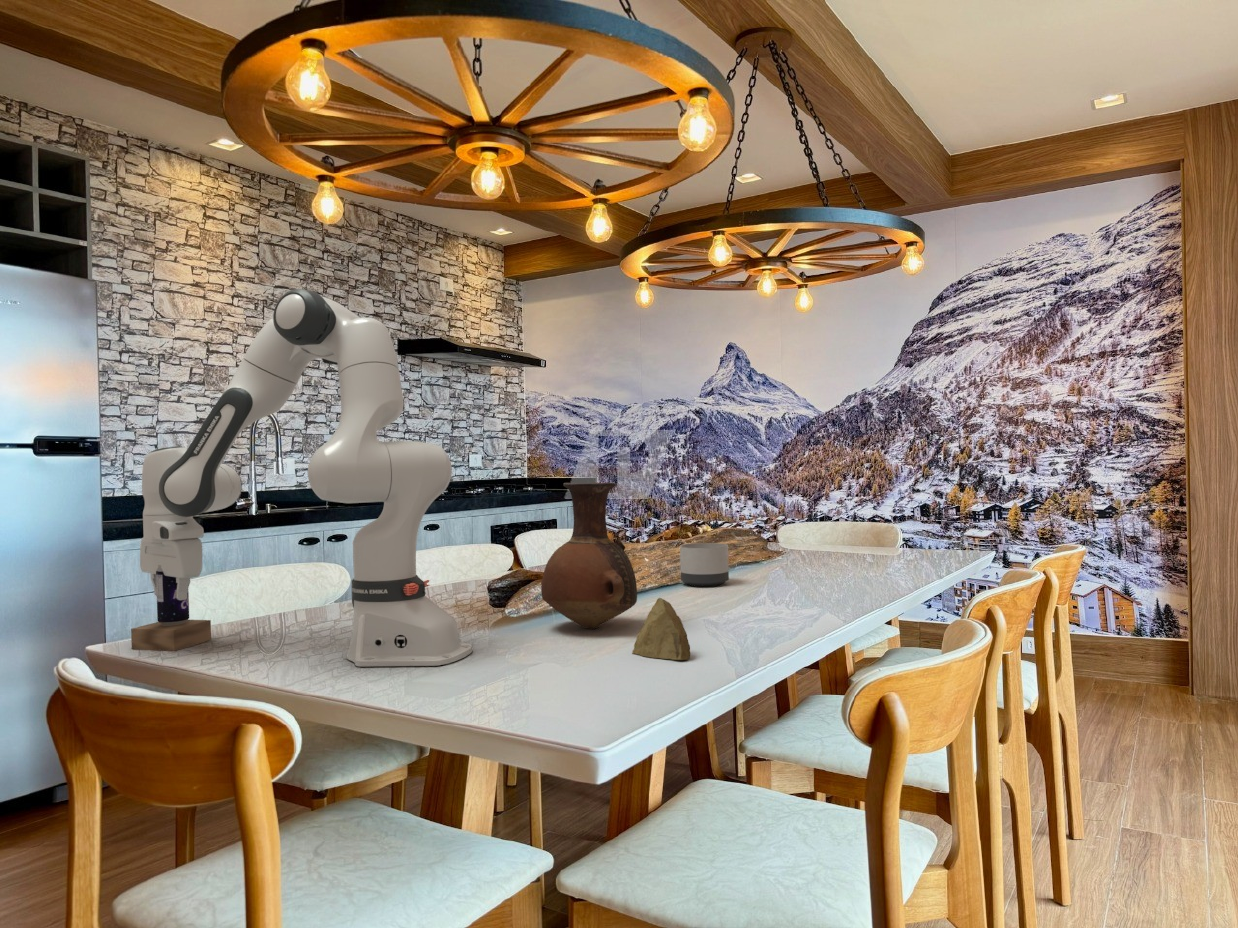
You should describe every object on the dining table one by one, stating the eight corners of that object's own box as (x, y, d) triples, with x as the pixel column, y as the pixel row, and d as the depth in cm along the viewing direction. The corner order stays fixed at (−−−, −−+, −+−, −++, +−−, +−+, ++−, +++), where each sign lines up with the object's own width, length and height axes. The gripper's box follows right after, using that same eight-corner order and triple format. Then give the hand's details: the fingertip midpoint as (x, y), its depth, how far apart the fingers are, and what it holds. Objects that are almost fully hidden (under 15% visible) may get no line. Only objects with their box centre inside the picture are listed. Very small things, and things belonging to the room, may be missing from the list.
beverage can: (174, 626, 171) (172, 565, 171) (150, 626, 172) (148, 565, 172) (195, 621, 176) (194, 562, 176) (172, 620, 178) (170, 562, 178)
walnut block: (211, 639, 178) (210, 620, 177) (174, 650, 168) (173, 630, 168) (170, 638, 180) (169, 618, 180) (131, 649, 170) (131, 628, 170)
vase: (665, 629, 175) (661, 480, 175) (582, 644, 164) (577, 485, 164) (597, 613, 196) (593, 479, 195) (518, 625, 184) (515, 483, 184)
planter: (678, 588, 229) (677, 548, 229) (683, 580, 242) (682, 543, 241) (727, 588, 227) (726, 547, 227) (729, 580, 239) (728, 542, 239)
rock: (708, 646, 149) (688, 627, 159) (680, 610, 147) (662, 593, 156) (659, 687, 148) (642, 666, 157) (630, 652, 145) (615, 632, 155)
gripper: (130, 527, 178) (132, 595, 178) (174, 531, 165) (176, 604, 165) (162, 525, 183) (164, 591, 183) (207, 528, 170) (210, 599, 170)
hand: (170, 597), depth 174 cm, fingers open, 8 cm apart
